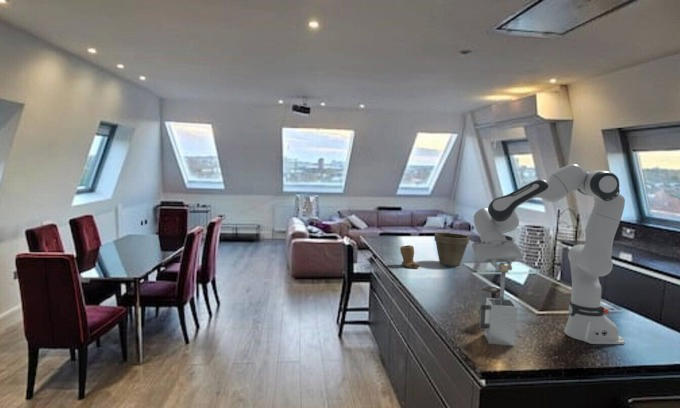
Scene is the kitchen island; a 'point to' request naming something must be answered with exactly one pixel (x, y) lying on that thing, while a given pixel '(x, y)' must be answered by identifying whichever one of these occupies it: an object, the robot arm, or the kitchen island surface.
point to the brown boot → (408, 256)
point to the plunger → (502, 281)
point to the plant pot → (451, 247)
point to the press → (499, 321)
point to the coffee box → (488, 295)
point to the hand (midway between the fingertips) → (504, 269)
